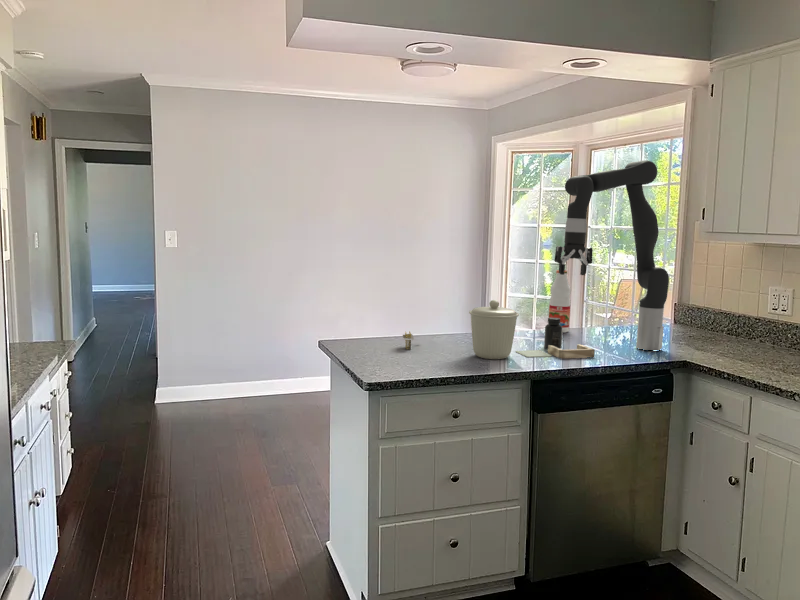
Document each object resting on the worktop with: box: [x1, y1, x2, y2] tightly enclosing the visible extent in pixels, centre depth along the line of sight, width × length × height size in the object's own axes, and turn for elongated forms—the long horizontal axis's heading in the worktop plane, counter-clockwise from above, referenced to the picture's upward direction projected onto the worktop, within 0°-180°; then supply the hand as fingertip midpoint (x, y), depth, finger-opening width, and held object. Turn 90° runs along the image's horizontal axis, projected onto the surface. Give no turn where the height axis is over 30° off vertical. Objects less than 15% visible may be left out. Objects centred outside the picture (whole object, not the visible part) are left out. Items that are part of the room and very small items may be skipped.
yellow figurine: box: [402, 330, 415, 351], centre depth 257 cm, size 12×18×7 cm, turn 3°
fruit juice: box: [548, 269, 572, 334], centre depth 304 cm, size 9×9×28 cm
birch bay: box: [547, 344, 596, 360], centre depth 252 cm, size 10×14×3 cm
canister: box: [468, 299, 520, 360], centre depth 244 cm, size 18×18×21 cm
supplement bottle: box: [543, 317, 563, 350], centre depth 265 cm, size 7×7×12 cm
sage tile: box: [515, 349, 553, 358], centre depth 252 cm, size 10×10×1 cm
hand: (572, 274), depth 247 cm, fingers open, 8 cm apart
